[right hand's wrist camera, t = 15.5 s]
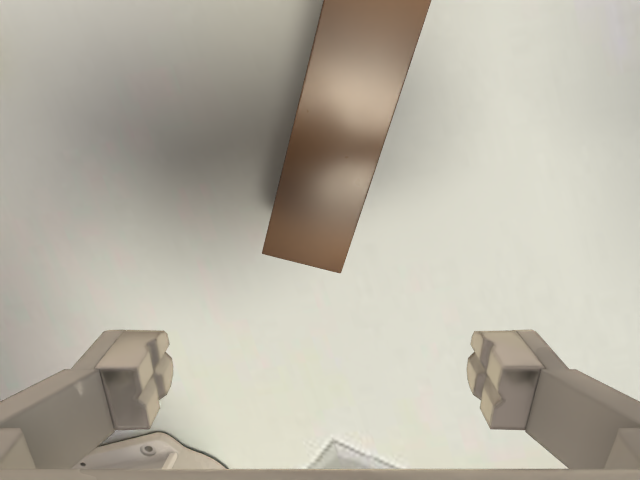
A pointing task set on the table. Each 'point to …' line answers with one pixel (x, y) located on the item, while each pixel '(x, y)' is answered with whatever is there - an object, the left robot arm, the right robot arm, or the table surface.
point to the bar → (341, 126)
